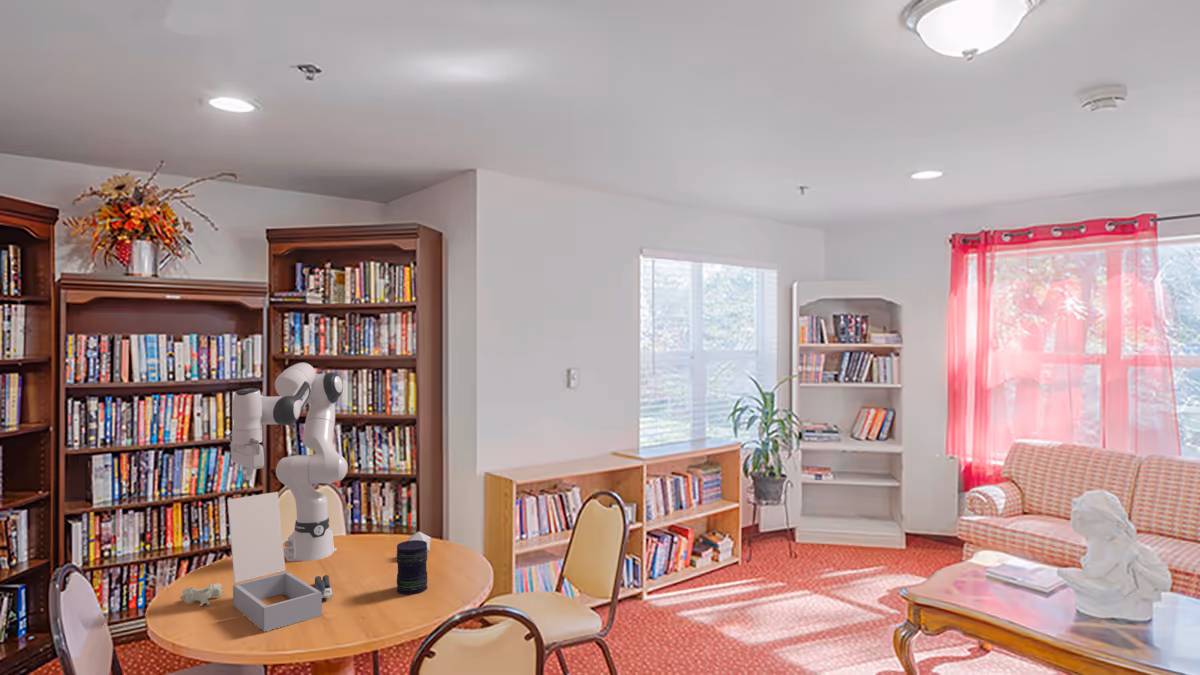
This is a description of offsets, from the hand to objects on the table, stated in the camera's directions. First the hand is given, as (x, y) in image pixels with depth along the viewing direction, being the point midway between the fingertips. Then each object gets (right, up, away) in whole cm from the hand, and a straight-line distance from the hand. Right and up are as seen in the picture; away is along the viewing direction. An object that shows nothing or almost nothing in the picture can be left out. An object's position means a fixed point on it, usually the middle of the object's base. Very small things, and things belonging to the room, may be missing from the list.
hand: (247, 479), depth 224 cm
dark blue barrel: (+55, -37, 0) cm, 66 cm away
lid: (+6, -17, -6) cm, 19 cm away
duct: (+18, -37, -18) cm, 45 cm away
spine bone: (-9, -38, -10) cm, 40 cm away
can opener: (+26, -37, -2) cm, 45 cm away
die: (+48, -37, +33) cm, 69 cm away
